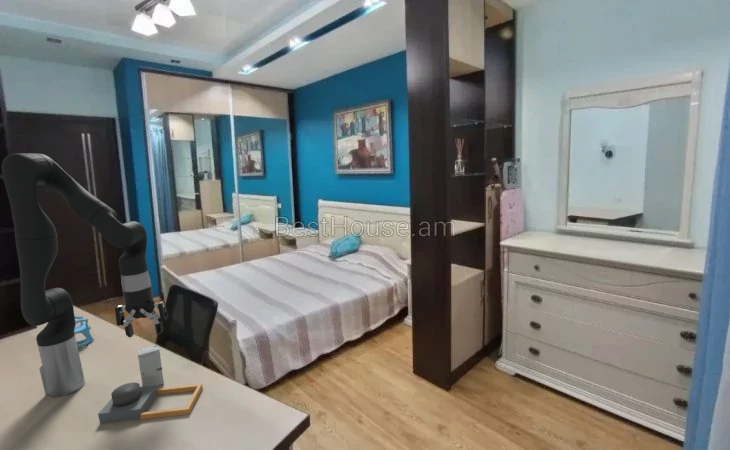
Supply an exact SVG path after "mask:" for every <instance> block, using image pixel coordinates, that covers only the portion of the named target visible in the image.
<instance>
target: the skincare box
mask: <svg viewBox="0 0 730 450" xmlns="http://www.w3.org/2000/svg"><path fill="white" fill-rule="evenodd" d="M137 359H138V365H139V372H140V379H141V384H142V386H141V387H146V386H155V385H157V387H159V386H161V385H164V383H165V382H164V374H163V367H162V359H161V351H160V346H159V344H156V345H152V346H148V347H144V348H141V349H138V350H137Z"/></svg>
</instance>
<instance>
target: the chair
mask: <svg viewBox="0 0 730 450" xmlns="http://www.w3.org/2000/svg"><path fill="white" fill-rule="evenodd" d="M84 322H85V323H84ZM79 323H80V324H79ZM75 324H79V325H75V329H74V332H75V335H76V334H82V335H83V336H84V337H85V338H83V339H80V340H76V342H77V346H78V350H79V349H81V348H83V347H85V346H86V345H88V344H90V343H93V342H95V339H94V336H92V334H91V333H90V329H92V328H91V326H89V325H88V324H89V318H84V315H83V316H75ZM78 344H79V345H78Z"/></svg>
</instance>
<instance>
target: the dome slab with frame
mask: <svg viewBox="0 0 730 450" xmlns="http://www.w3.org/2000/svg"><path fill="white" fill-rule="evenodd" d="M158 387H159V386H157V385H155V386H146V387H143V386H140V383H138V382H128V383H125V384H124V383H123V384H122V385H119V386H117V387H116V388H114V390H113V391H112V392H111V395H110V396H111V398H110V399H109V400H108V402H107V403H106V404H105V406H103V407H102V409H101V410H100V411H99V412H98V413H97V415H98V420H99V421H98V422H99V424H107V423H114V422H115V423H116V422H124V421H125V422H126V421H131V420H132V421H133V420H141V421H142V420H149V419H150V420H151V419H157V418H158V419H159V418H167V417H174V416H176V417H177V416H182V415H189V414H190V413H191V411H192V410H193V408H194V406H195V404H196V401H197V400H198V398H199V396H200V394H201V392H202V390H203V383H197V384H188V385H187V384H186V385H179V386H171V387H161V388H158ZM187 392H193V394H192V395H191V397H190V399H189V402H188V403H187V405H186V406H185V407H178V408H168V409H161V410H152V411H149V409H150V407H151V406H152V404H153V403H154V402H155V400H156V399H157V397H158V396H161V395H170V394H177V393H187Z"/></svg>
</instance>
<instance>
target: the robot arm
mask: <svg viewBox="0 0 730 450" xmlns="http://www.w3.org/2000/svg"><path fill="white" fill-rule="evenodd" d="M1 174H2V179H3V183H4V186H5V190H6V193H7V197H8V201H9V204H10V205H9V206H10V211H11V217H12V221H13V222H12V223H13V228H14V238H15V239H14V240H15V246H16V247H15V248H16V251H17V252H16V253H17V258H18V264H19V265H18V266H19V274H20V309H21V313H22V317H23V318H24V321H26V323H28V325H31V326H33V327H34V326H35V327H38V326H42V325H45V324H46V326H45V327H43V329H42V330H41V331H39V333H37V335H36V337H35V338H36V345H37V348H38V353H39V357H40V361H41V362H40V363H41V366H40V367H39V374H40V376H41V377H40V378H41V382H42V385H43V390H44V393H45V394H44V395H45V396H50V397H53V398H56V397H62V396H67V395H69V394H72V393H74V392H76V391H78V390H80V389H81V388H83V386H84V385H85V383H86V380H85V375H84V371H83V367H82V361H81V356H80V352H79V349H78V346H79V345H78V344H77V342H76V341H77V338H76V334H75V332H74V329H75V327H76V326H77V325H76V324H75V320H76V319H75V317H76V315H75V311H74V310H75V309H74V303H73V299H72V298H71V295H70V294H69V292H68V291H67V290H66V289H64V288H62V287H54V288H50V289H47V290H46V281H47V280H46V279H47V277H48V274H49V272H50V270H51V268H52V266H53V264H54V263H55V259H56V257H57V255H58V252H59V241H58V233H57V228H56V226H55V224H54V223H53V222H52V220H51V219H50V218H49V216H48V214H46V213H45V211H43V209H42V206H41V205H40V202H39V199H38V192H37V191H38V190H37V186H42V185H43V186H46V187H47V188H50V189H52V190H53V191H55V192H56V193H57V194H60V196H61V197H62V198H63V199H64V200H65V202H66V203H67V206H69V208H70V210H71V211H72V212H73V213H74V214H75V215H76V216H78V218H80V219H82V220H83V221H84V222H86V223H88V224H89V225H90V226H91V227H93V228H95V229H96V230H97V232H98V233H99V234H100V235H101V236H102V237H103V238H104V239H105V241H107V242H108V243H109V244H110V245H112V246H114V247H115V248H118V249H123V253H122V255H120V257H119V258H118V266H119V272H120V280H121V281H120V282H121V287H122V288H121V289H122V295H123V299H124V304H125V305H123V304H119V305H118V306H117V307H115V308H114V312H115V321H116V326H119V327H120V326H123V327H124V330H125V331H124V332H125V335H126V336H127V338H132V337H134V335H135V332H134V327H133V323H132V322H133V321H134V319H136V320H138V319H147V318H148V319H149V320H150V321H152V322H154V323H155V324H154V326H155V332H156V333H155V334H156V335H157V336H158V335H160V334H162V332H163V331H164V324H163V322H165V321H166V320H167V319H168V318H169V314H168V311H167V307H166V306H167V305H166V302H165V300H161V301H160V302H155V301H154V295H153V288H152V281H151V277H150V274H149V270H148V265H147V260H146V254H147V243H148V237H147V236H148V234H147V231H146V228H145V227H144V226H143V224H141V223H140V222H138V221H128V222H124V223H122V222H120V221H119V220H118V219H117V218H118V214H117V212H116V211H115V210H114V209H113V208H111V207H110V206H109V205H107V204H106V203H105V202H103V201H101V199H99V198H97V197H96V196H94V195H93V194H91V193H90V192H89V191H87V189H85V188H84V187H83V186H82V185H81V184H80V183H79V182H77V181H76V180H75V179H74V178H73V177H72V176H71V175H70V174H68V172H66V171H65V170H64V169H63V168H62V167H61V166H60V165H59V164H58V163H57V162H56V161H54V160H53V159H52V158H51V157H49V156H48V155H46V154H43V153H40V152H39V153H37V152H26V153H25V152H22V153H18V152H16V153H11V154H8V155H6V156H5V157H4V158H3V160H2V163H1ZM155 308H156V309H155ZM157 310H158V311H157ZM125 311H126V312H127V313H128V315H127V317H126V318H125Z"/></svg>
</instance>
